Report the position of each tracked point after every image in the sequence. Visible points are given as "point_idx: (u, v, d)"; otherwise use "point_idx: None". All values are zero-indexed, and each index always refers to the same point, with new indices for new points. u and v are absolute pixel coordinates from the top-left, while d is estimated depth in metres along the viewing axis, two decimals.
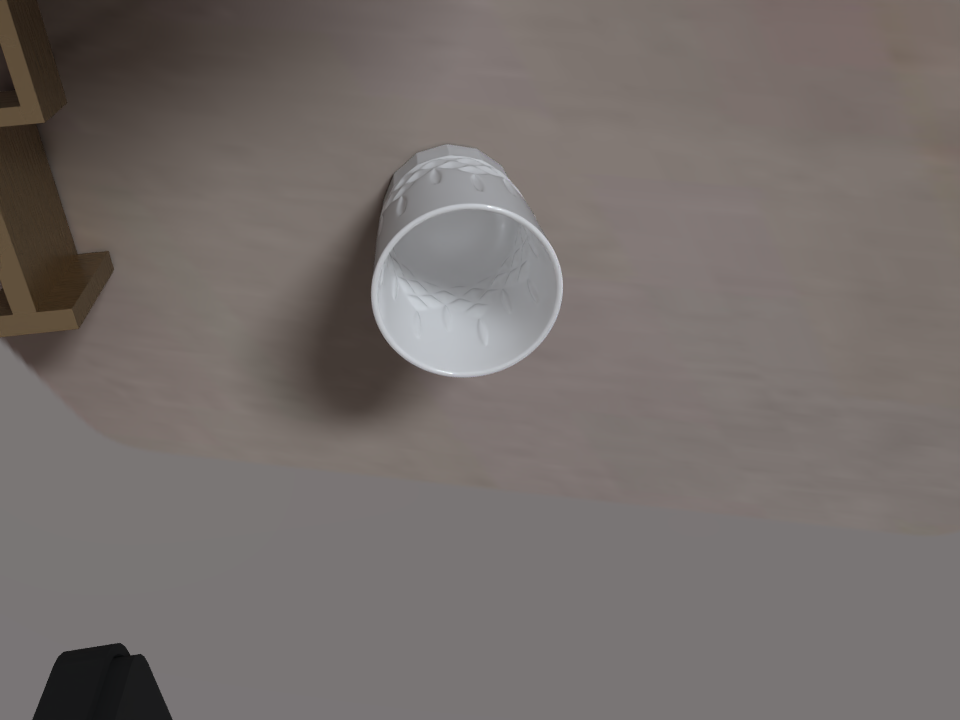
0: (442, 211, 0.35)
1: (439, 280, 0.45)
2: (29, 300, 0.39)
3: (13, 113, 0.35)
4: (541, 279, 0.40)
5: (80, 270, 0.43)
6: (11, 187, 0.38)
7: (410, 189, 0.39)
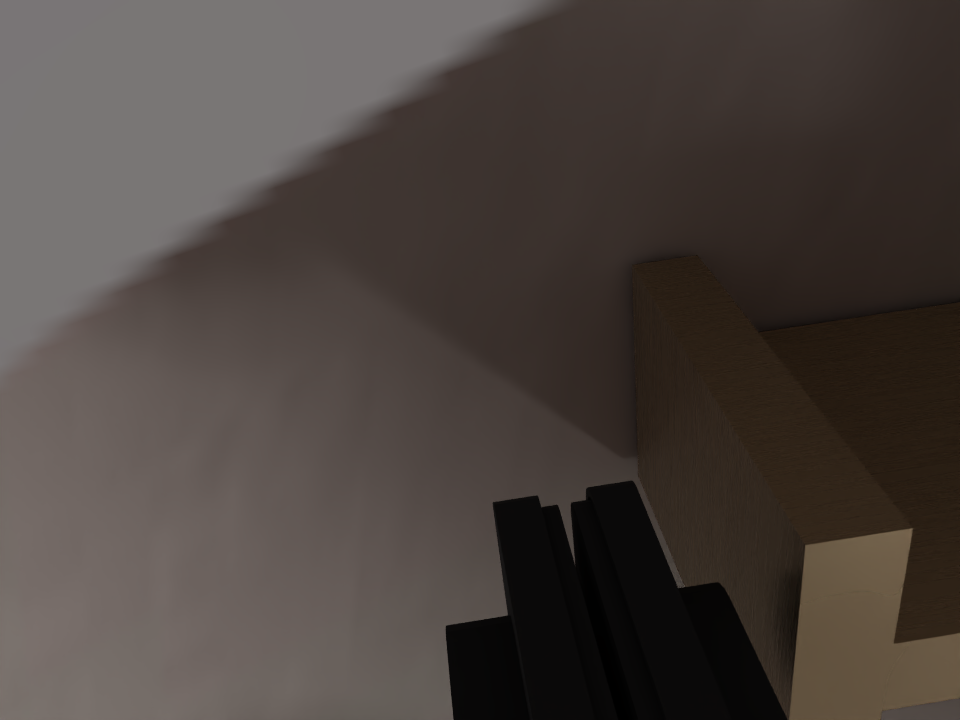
0: None
1: None
2: (937, 693, 0.09)
3: None
4: None
5: None
6: None
7: None
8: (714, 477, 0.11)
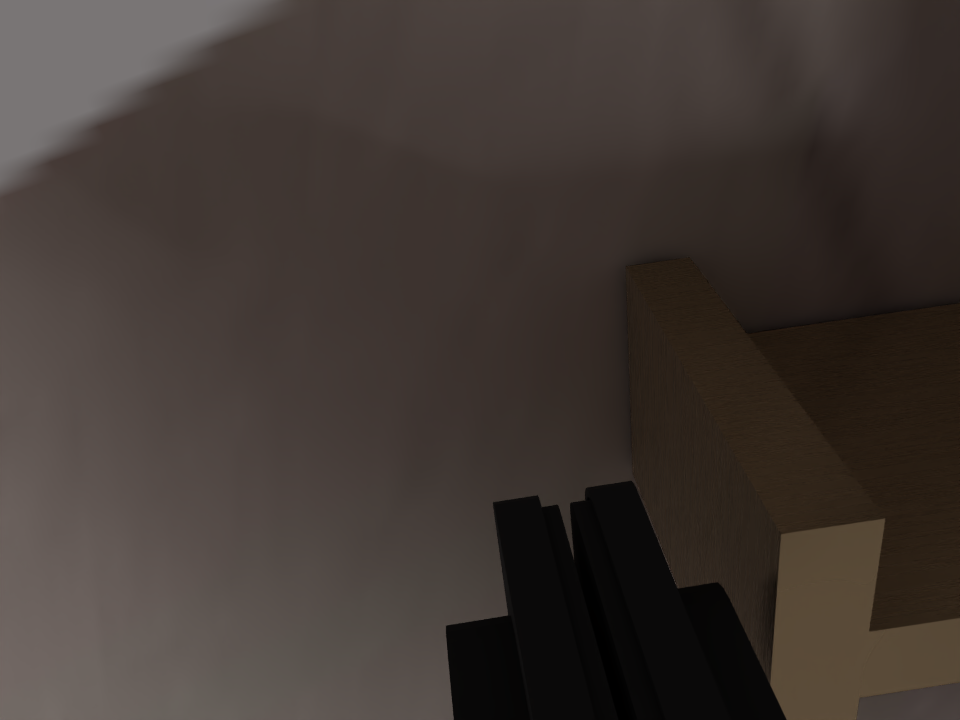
0: None
1: None
2: (913, 681, 0.10)
3: None
4: None
5: None
6: None
7: None
8: (700, 472, 0.11)
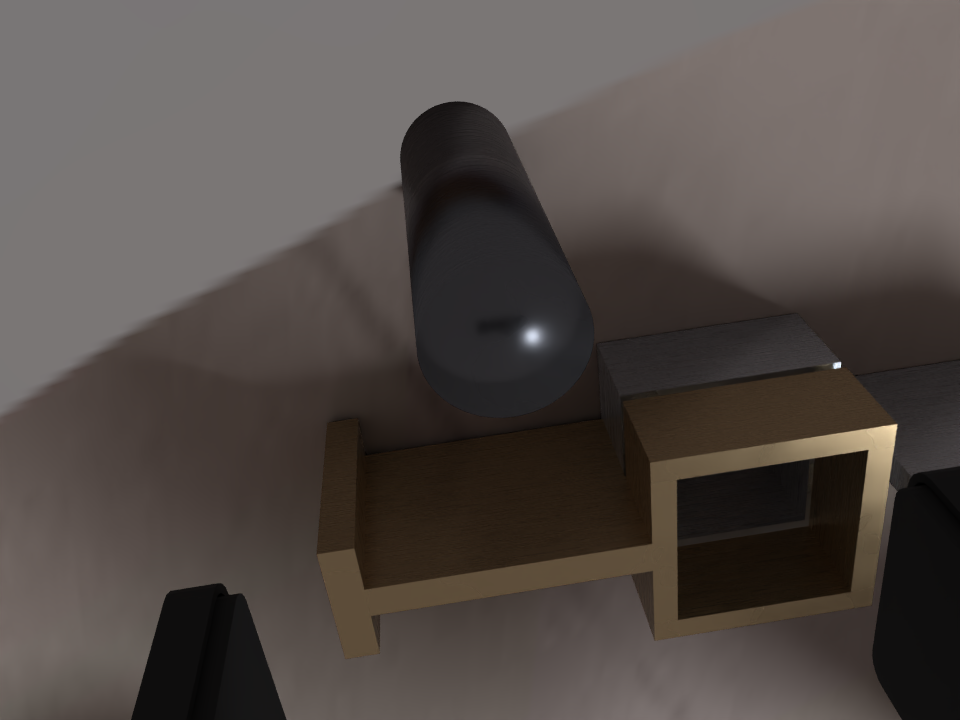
0: None
1: None
2: (390, 609, 0.25)
3: (669, 612, 0.26)
4: None
5: None
6: None
7: None
8: None
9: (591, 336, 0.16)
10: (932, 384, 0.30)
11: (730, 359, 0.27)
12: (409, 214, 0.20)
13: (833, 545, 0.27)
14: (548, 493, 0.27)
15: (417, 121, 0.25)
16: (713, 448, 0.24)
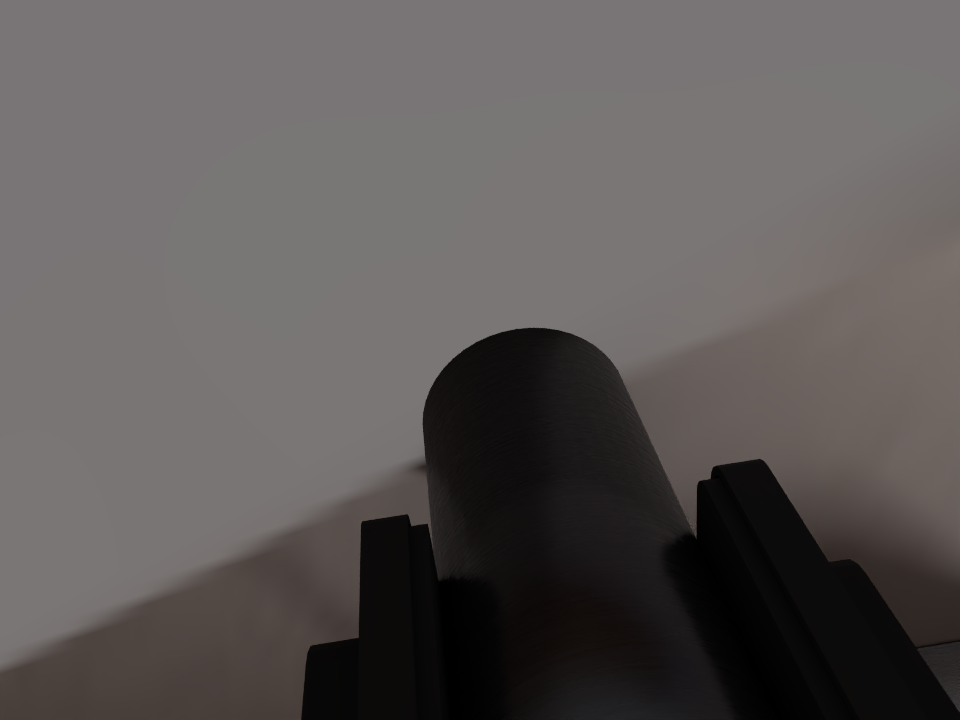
0: None
1: None
2: None
3: None
4: None
5: None
6: None
7: None
8: None
9: None
10: None
11: None
12: (456, 707, 0.09)
13: None
14: None
15: (456, 368, 0.13)
16: None
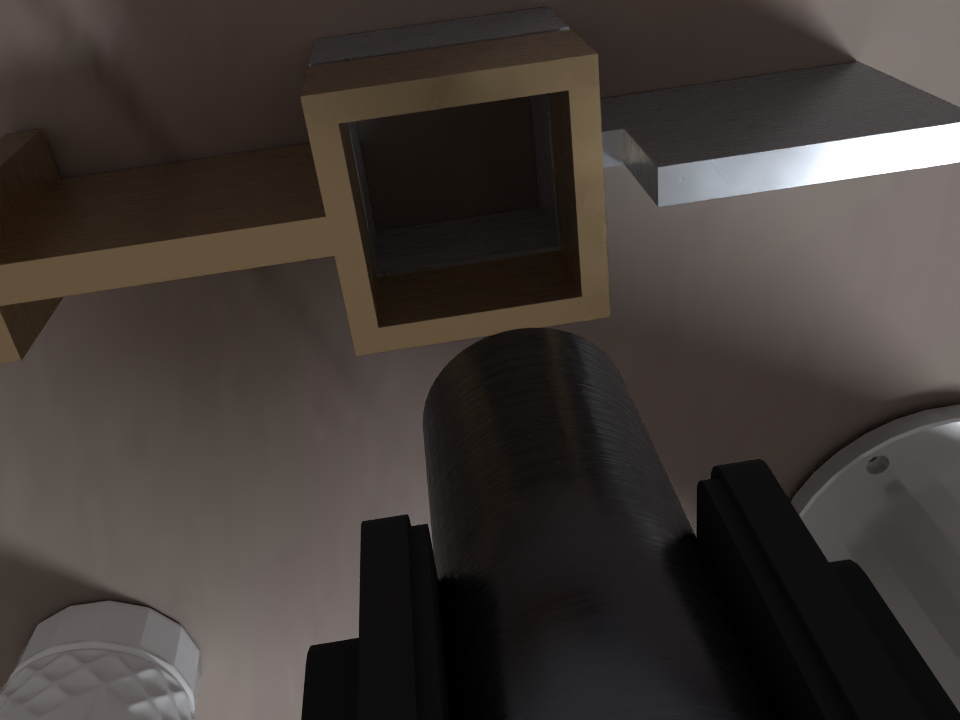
0: None
1: None
2: (20, 297, 0.21)
3: (366, 317, 0.23)
4: None
5: None
6: None
7: None
8: None
9: None
10: (707, 94, 0.26)
11: (450, 35, 0.24)
12: (456, 708, 0.09)
13: (570, 252, 0.24)
14: (237, 191, 0.23)
15: (456, 368, 0.13)
16: (379, 83, 0.20)
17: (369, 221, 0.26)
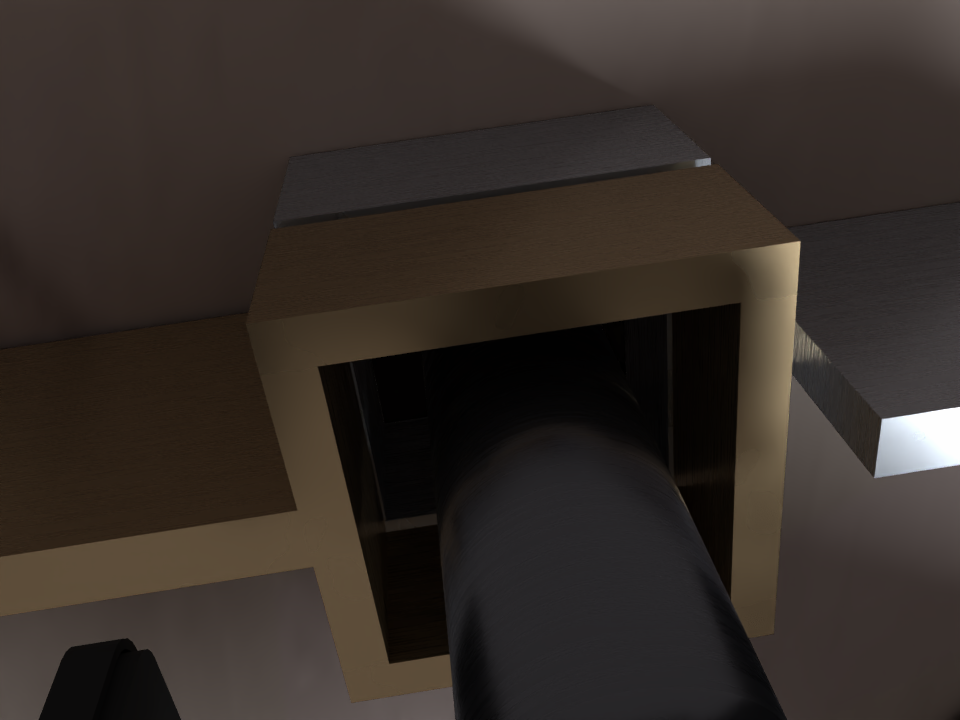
0: None
1: None
2: None
3: (368, 650, 0.13)
4: None
5: None
6: None
7: None
8: None
9: None
10: (897, 237, 0.17)
11: (507, 165, 0.14)
12: (437, 443, 0.13)
13: (704, 519, 0.14)
14: (158, 419, 0.14)
15: None
16: (394, 295, 0.11)
17: (374, 437, 0.17)
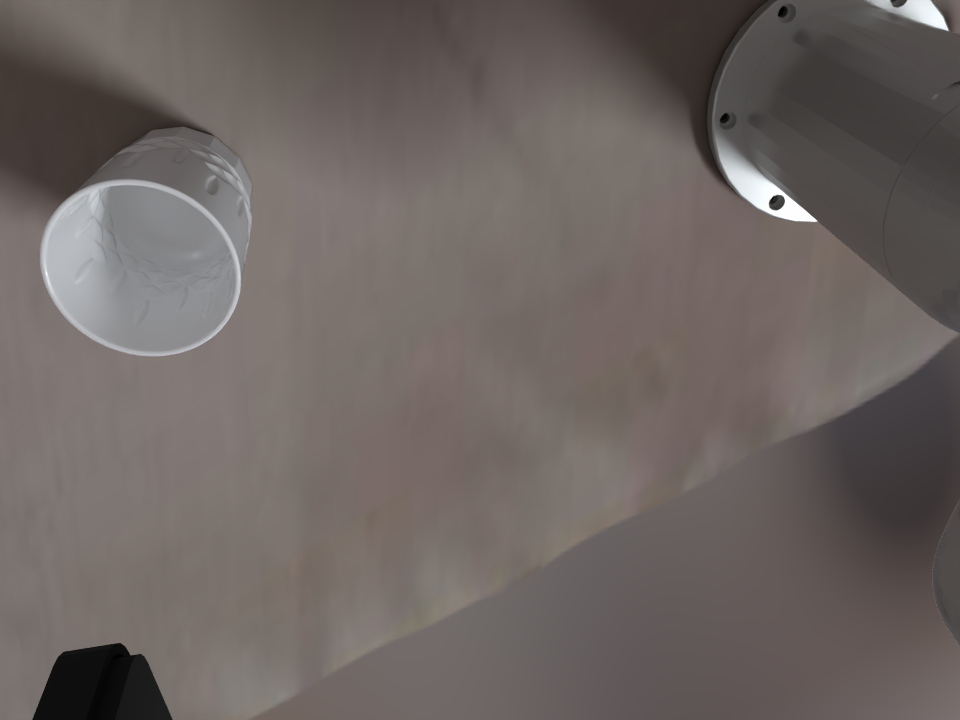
0: (228, 243, 0.37)
1: (113, 198, 0.43)
2: None
3: None
4: (158, 321, 0.41)
5: None
6: None
7: (224, 184, 0.40)
8: None
9: None
10: None
11: None
12: None
13: None
14: None
15: None
16: None
17: None
